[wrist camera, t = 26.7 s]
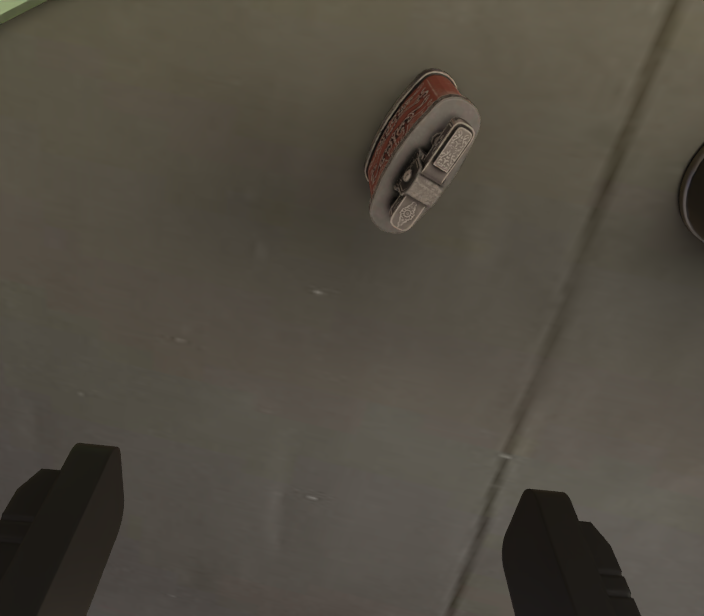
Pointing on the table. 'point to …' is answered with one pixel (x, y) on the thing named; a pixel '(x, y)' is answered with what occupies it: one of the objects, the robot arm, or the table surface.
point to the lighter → (419, 150)
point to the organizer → (16, 8)
